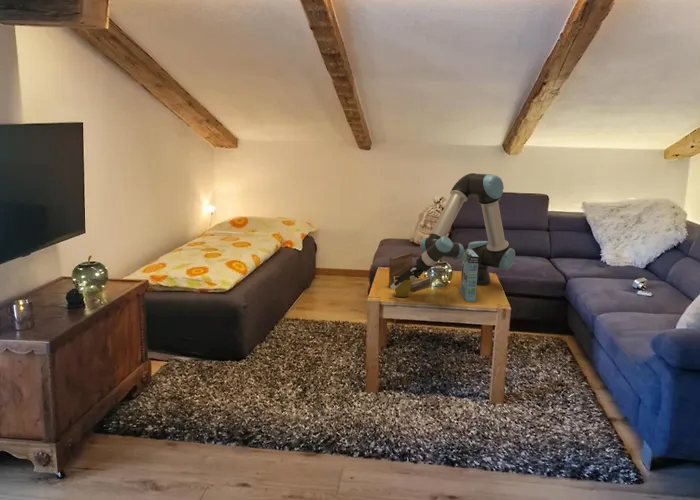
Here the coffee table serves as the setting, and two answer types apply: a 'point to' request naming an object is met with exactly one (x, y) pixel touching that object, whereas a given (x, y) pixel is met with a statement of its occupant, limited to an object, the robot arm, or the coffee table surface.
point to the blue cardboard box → (469, 275)
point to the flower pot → (403, 287)
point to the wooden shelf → (401, 266)
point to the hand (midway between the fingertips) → (399, 285)
